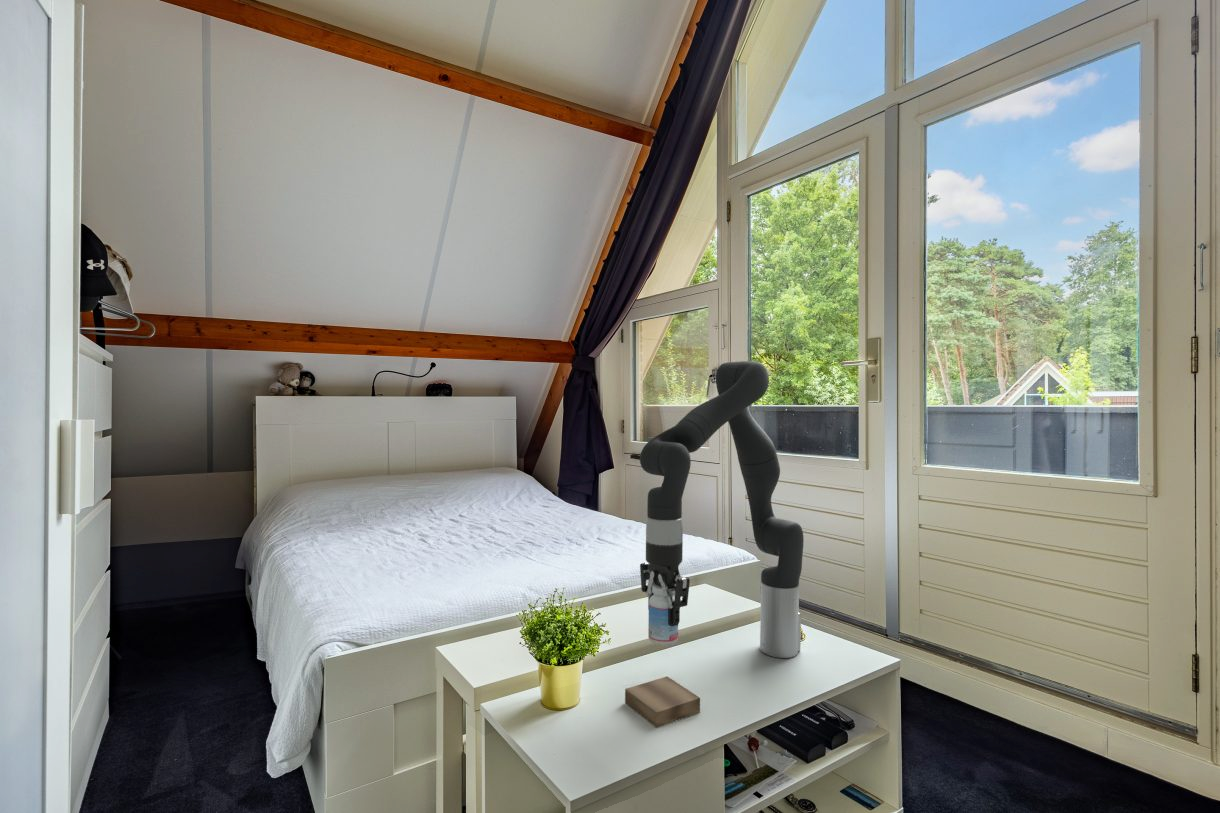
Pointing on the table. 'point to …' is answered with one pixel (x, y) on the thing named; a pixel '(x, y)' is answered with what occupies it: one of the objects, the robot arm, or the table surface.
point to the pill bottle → (660, 619)
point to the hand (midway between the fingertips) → (663, 619)
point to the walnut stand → (662, 701)
